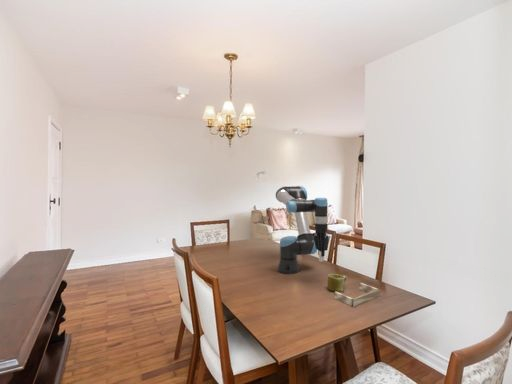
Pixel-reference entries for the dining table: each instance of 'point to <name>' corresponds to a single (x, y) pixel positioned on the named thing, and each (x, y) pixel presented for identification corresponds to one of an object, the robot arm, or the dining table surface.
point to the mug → (336, 282)
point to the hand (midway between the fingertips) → (321, 261)
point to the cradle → (360, 299)
